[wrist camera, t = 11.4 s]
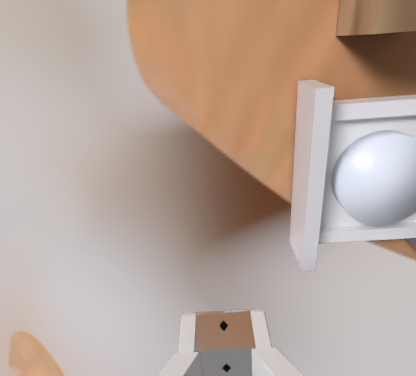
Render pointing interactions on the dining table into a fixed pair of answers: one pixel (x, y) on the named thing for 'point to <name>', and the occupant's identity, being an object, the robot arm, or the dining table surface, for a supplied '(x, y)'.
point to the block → (375, 17)
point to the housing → (411, 242)
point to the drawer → (325, 160)
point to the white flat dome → (377, 178)
